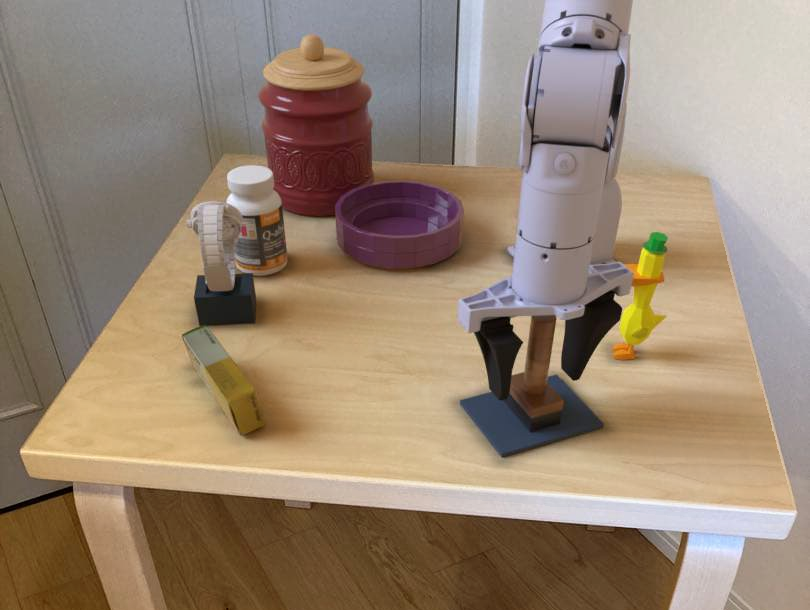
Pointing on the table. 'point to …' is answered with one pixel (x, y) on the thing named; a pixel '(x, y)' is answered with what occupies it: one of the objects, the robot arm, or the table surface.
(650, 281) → the toy figure
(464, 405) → the mat
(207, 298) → the watch
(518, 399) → the wooden peg on base
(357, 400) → the table surface
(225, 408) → the medication box
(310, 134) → the kitchen canister
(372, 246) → the bowl
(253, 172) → the pill bottle
